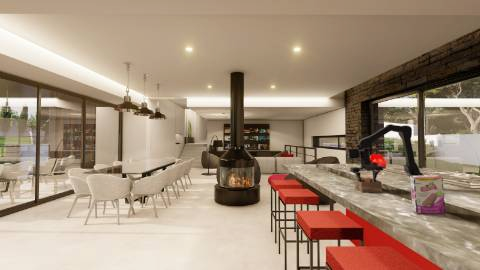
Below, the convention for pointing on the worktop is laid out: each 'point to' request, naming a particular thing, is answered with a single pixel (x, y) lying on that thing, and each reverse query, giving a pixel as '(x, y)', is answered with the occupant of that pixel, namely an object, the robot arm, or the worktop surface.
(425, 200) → the candy bar box
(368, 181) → the peg
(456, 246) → the worktop surface
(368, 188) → the bored tray
